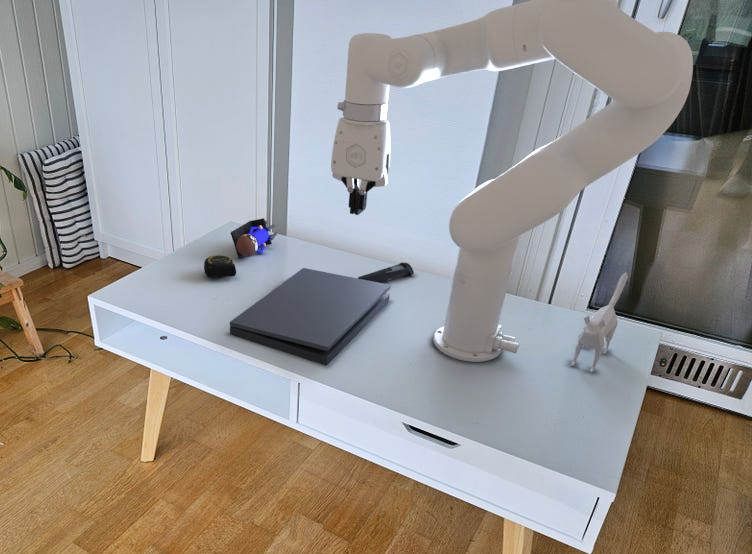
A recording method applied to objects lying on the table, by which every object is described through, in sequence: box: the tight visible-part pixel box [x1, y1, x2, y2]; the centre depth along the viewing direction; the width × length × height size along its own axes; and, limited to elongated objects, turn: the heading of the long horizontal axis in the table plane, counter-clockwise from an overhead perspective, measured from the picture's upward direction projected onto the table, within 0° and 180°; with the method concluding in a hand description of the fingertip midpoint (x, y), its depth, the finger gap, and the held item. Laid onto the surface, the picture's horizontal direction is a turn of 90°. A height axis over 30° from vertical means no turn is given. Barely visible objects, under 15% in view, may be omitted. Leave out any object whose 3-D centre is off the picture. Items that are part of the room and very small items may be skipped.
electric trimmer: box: [357, 262, 415, 284], centre depth 145 cm, size 4×16×3 cm, turn 123°
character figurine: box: [230, 218, 278, 260], centre depth 156 cm, size 8×7×15 cm
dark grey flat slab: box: [229, 292, 391, 367], centre depth 130 cm, size 21×30×2 cm
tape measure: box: [203, 254, 237, 279], centre depth 145 cm, size 7×7×4 cm
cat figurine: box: [570, 271, 629, 374], centre depth 115 cm, size 4×20×14 cm, turn 142°
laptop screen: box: [229, 267, 391, 351], centre depth 129 cm, size 21×30×1 cm
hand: (356, 212), depth 122 cm, fingers closed
